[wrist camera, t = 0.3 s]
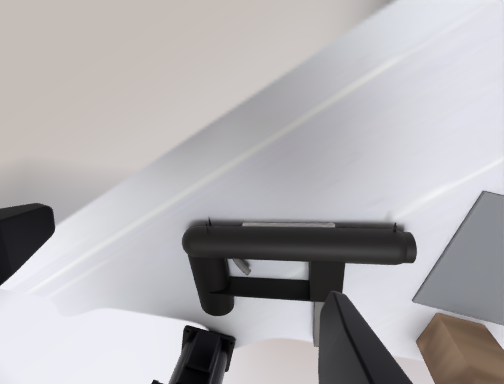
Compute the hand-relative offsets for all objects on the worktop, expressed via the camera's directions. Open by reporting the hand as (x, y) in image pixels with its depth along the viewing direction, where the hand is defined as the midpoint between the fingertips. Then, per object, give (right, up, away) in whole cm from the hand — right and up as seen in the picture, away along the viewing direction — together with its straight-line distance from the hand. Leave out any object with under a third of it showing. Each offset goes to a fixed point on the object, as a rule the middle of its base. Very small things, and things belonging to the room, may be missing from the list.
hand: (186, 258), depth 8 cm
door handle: (+6, -7, +19) cm, 21 cm away
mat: (+23, -4, +14) cm, 28 cm away
